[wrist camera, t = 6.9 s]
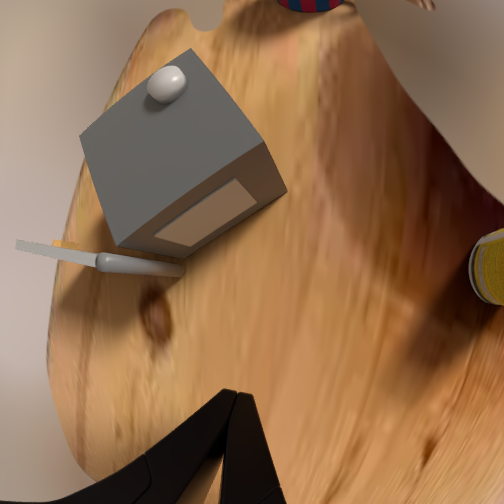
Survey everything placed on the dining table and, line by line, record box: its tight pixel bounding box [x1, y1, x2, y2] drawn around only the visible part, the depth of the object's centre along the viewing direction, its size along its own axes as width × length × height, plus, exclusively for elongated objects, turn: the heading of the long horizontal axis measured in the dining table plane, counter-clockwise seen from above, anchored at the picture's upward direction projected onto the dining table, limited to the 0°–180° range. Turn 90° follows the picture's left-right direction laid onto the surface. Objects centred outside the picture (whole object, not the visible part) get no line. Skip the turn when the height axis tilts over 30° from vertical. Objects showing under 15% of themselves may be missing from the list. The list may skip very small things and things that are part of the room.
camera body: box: [79, 48, 287, 259], centre depth 17 cm, size 8×9×8 cm
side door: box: [16, 240, 185, 277], centre depth 18 cm, size 9×1×8 cm, turn 82°
